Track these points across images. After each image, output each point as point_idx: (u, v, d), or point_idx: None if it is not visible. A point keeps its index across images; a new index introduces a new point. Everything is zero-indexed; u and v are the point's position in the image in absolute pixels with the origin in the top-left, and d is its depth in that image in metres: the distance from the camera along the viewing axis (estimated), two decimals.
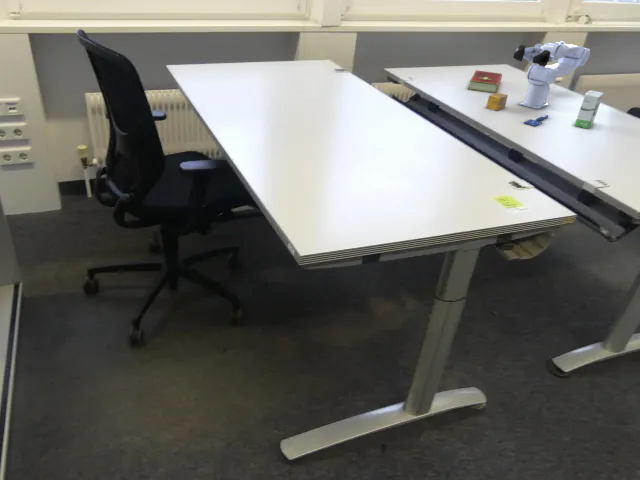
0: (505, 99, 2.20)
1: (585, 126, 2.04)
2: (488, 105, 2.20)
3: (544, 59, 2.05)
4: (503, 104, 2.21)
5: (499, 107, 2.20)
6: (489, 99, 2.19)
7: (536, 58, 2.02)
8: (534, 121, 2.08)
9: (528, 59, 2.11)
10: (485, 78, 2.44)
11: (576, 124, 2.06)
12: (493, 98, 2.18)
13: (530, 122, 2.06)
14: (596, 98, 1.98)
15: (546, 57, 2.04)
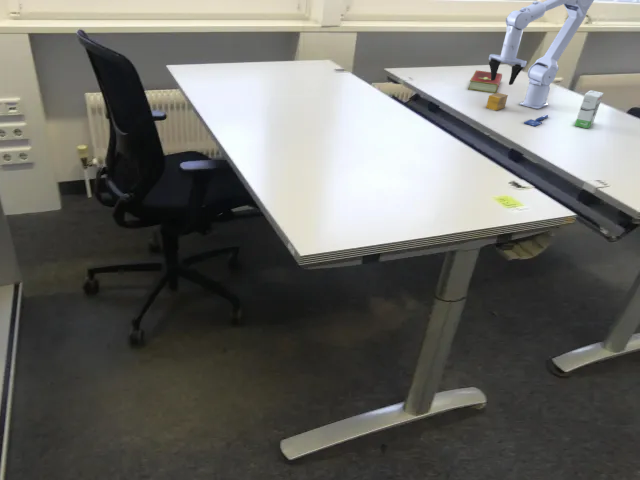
0: (505, 99, 2.20)
1: (585, 126, 2.04)
2: (488, 105, 2.20)
3: None
4: (503, 104, 2.21)
5: (499, 107, 2.20)
6: (489, 99, 2.19)
7: (511, 82, 2.14)
8: (534, 121, 2.08)
9: None
10: (485, 78, 2.44)
11: (576, 124, 2.06)
12: (493, 98, 2.18)
13: (530, 122, 2.06)
14: (596, 98, 1.98)
15: None
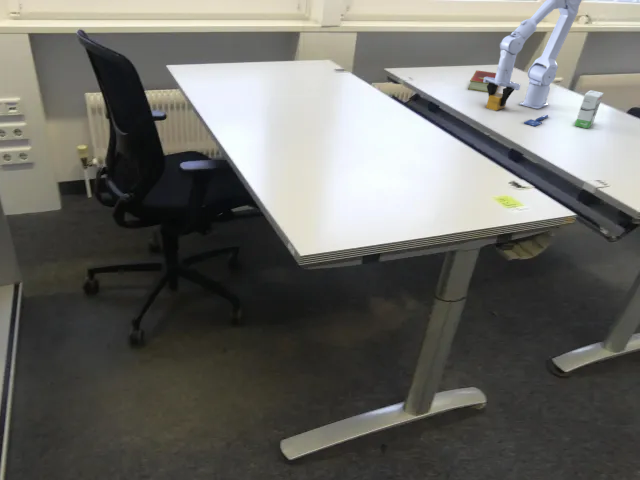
0: None
1: (585, 126, 2.04)
2: (488, 105, 2.20)
3: None
4: None
5: (499, 107, 2.20)
6: (489, 99, 2.19)
7: (503, 104, 2.19)
8: (534, 121, 2.08)
9: None
10: None
11: (576, 124, 2.06)
12: (493, 98, 2.18)
13: (530, 122, 2.06)
14: (596, 98, 1.98)
15: None
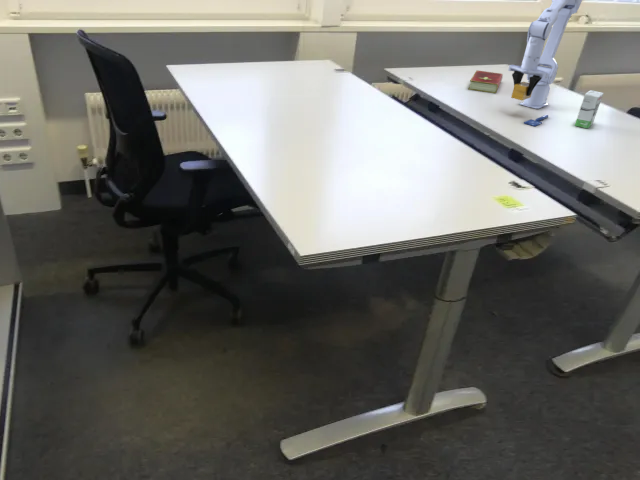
0: None
1: (585, 126, 2.04)
2: (513, 95, 2.09)
3: None
4: None
5: (525, 97, 2.08)
6: (515, 88, 2.08)
7: (529, 93, 2.08)
8: (534, 121, 2.08)
9: None
10: (485, 78, 2.44)
11: (576, 124, 2.06)
12: (519, 87, 2.07)
13: (530, 122, 2.06)
14: (596, 98, 1.98)
15: None
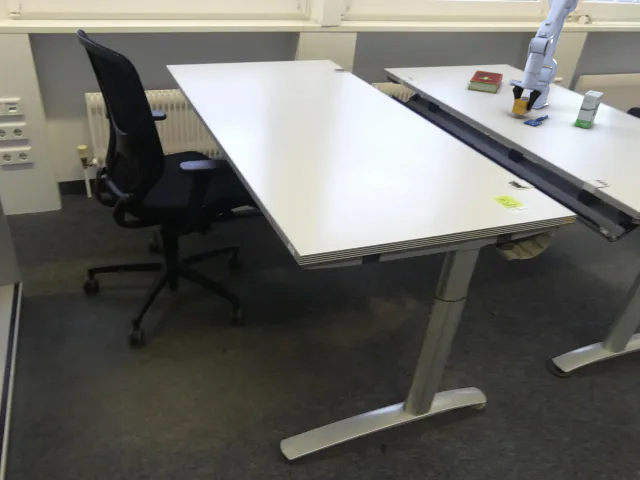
0: None
1: (585, 126, 2.04)
2: (514, 109, 2.10)
3: None
4: None
5: (525, 111, 2.10)
6: (515, 103, 2.09)
7: (529, 108, 2.09)
8: (534, 121, 2.08)
9: None
10: (485, 78, 2.44)
11: (576, 124, 2.06)
12: (519, 102, 2.08)
13: (530, 122, 2.06)
14: (596, 98, 1.98)
15: None
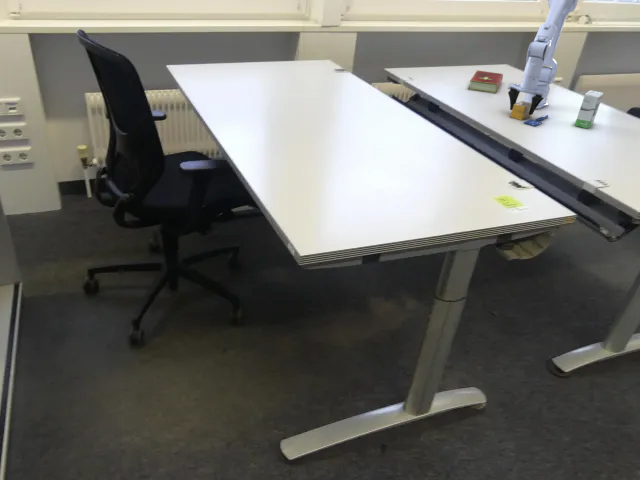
0: None
1: (585, 126, 2.04)
2: (512, 114, 2.12)
3: None
4: (528, 113, 2.12)
5: (524, 116, 2.11)
6: (514, 108, 2.10)
7: (531, 113, 2.09)
8: (534, 121, 2.08)
9: None
10: (485, 78, 2.44)
11: (576, 124, 2.06)
12: (518, 107, 2.09)
13: (530, 122, 2.06)
14: (596, 98, 1.98)
15: None
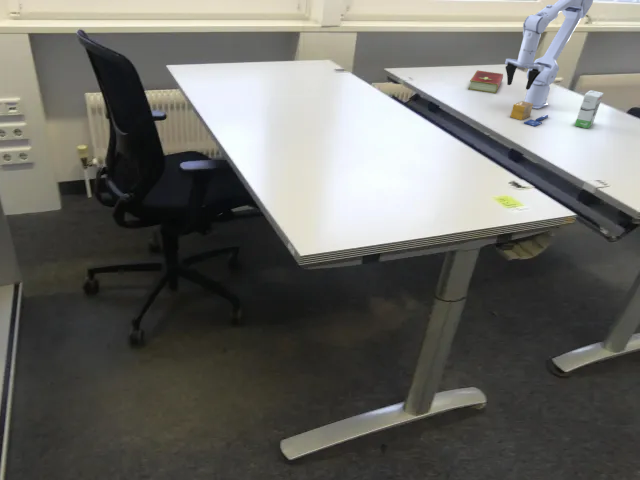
0: (530, 108, 2.11)
1: (585, 126, 2.04)
2: (512, 114, 2.12)
3: None
4: (528, 113, 2.12)
5: (524, 116, 2.11)
6: (514, 108, 2.10)
7: (528, 87, 2.11)
8: (534, 121, 2.08)
9: None
10: (485, 78, 2.44)
11: (576, 124, 2.06)
12: (518, 107, 2.09)
13: (530, 122, 2.06)
14: (596, 98, 1.98)
15: None
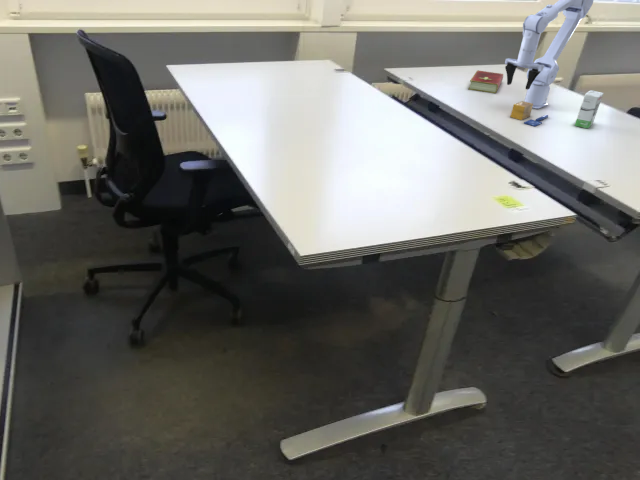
0: (530, 108, 2.11)
1: (585, 126, 2.04)
2: (512, 114, 2.12)
3: None
4: (528, 113, 2.12)
5: (524, 116, 2.11)
6: (514, 108, 2.10)
7: (528, 87, 2.12)
8: (534, 121, 2.08)
9: None
10: (486, 78, 2.44)
11: (576, 124, 2.06)
12: (518, 107, 2.09)
13: (530, 122, 2.06)
14: (596, 98, 1.98)
15: None
